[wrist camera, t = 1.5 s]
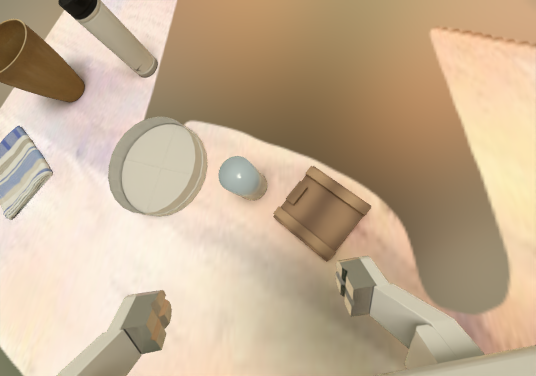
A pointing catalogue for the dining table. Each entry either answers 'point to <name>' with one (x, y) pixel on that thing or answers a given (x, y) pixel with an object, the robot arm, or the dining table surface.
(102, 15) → the travel mug
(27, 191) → the dish towel
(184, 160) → the dish
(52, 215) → the dining table surface
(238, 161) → the grey domed cylinder
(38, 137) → the dining table surface
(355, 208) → the chest
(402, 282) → the dining table surface
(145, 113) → the dining table surface
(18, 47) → the plant pot
